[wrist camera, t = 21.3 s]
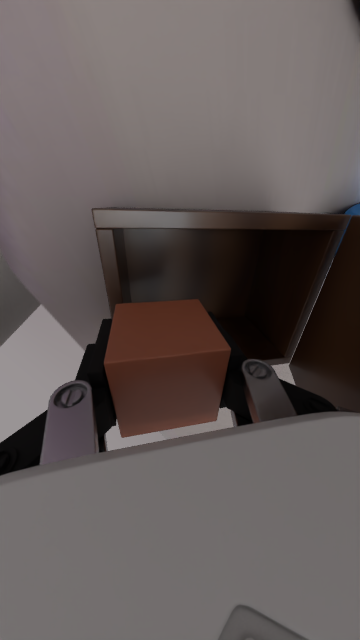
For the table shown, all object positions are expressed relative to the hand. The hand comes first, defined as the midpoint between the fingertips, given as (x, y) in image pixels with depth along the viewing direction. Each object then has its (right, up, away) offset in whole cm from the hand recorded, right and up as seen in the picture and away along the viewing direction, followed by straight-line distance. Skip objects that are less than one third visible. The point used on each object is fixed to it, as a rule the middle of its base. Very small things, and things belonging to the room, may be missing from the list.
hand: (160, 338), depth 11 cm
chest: (+3, +6, +11) cm, 13 cm away
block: (0, 0, 0) cm, 0 cm away
